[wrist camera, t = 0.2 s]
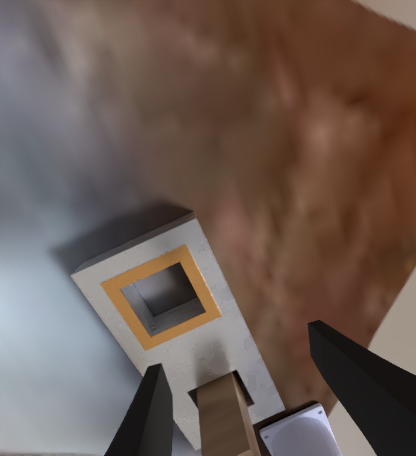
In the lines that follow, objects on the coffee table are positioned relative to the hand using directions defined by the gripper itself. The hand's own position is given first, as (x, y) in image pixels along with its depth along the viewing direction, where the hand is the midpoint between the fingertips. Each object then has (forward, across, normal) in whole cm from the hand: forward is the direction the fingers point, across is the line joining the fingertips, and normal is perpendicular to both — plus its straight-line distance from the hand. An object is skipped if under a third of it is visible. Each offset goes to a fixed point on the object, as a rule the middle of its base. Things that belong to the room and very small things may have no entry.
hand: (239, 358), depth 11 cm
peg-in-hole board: (+10, +3, +6) cm, 12 cm away
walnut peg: (+10, +2, +12) cm, 16 cm away
